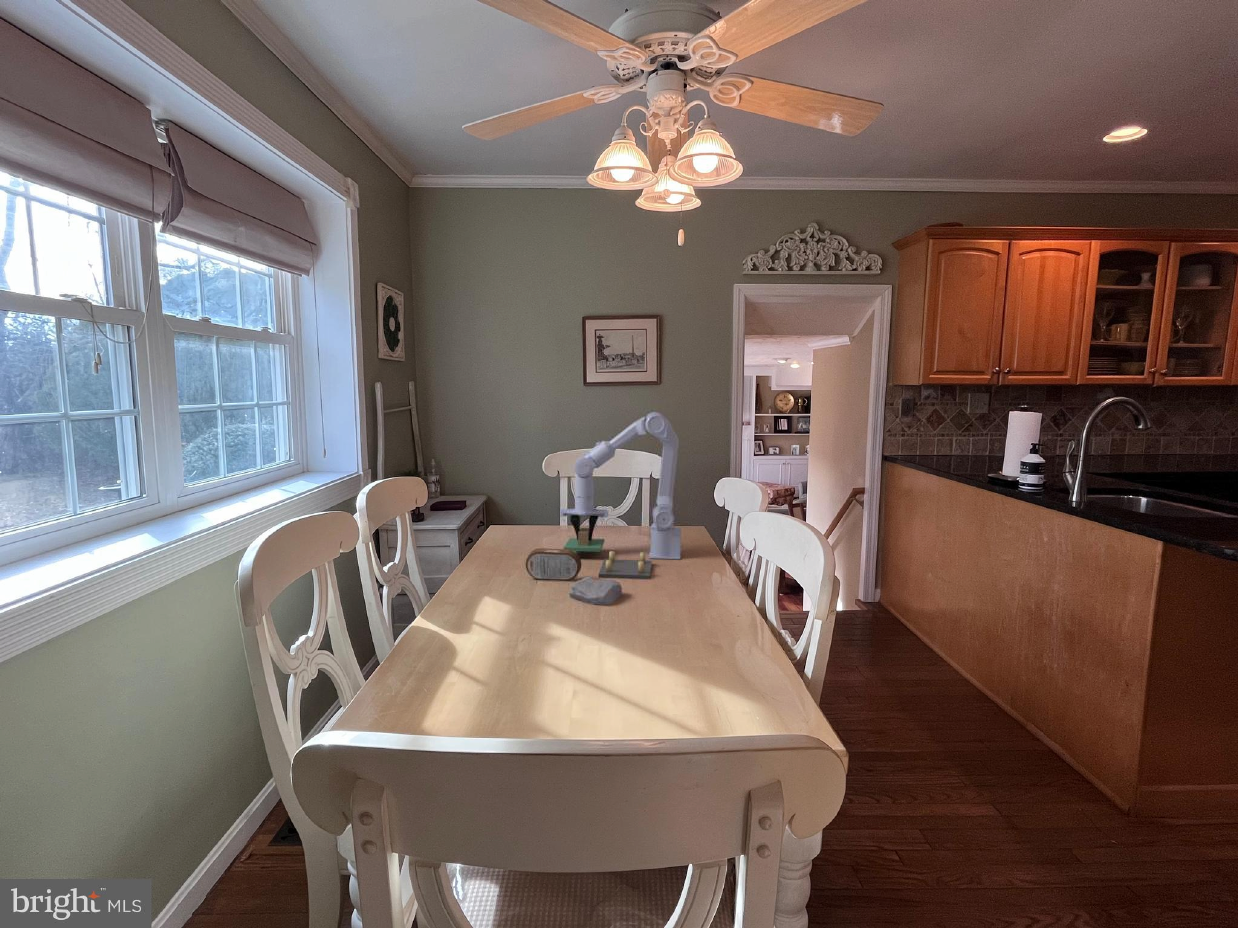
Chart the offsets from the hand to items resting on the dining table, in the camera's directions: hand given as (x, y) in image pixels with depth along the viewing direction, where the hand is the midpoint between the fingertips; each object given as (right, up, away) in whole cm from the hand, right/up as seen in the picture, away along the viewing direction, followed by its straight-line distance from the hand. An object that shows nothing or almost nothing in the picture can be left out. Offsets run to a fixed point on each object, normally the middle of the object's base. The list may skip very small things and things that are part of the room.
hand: (584, 539), depth 188 cm
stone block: (+4, -10, -36) cm, 38 cm away
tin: (-7, -8, -23) cm, 25 cm away
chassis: (+13, -7, -14) cm, 20 cm away
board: (0, -2, 0) cm, 2 cm away
